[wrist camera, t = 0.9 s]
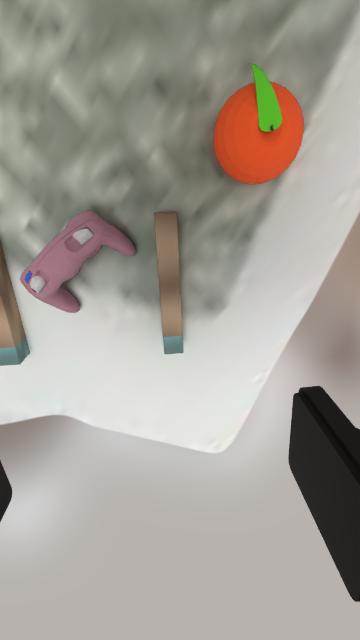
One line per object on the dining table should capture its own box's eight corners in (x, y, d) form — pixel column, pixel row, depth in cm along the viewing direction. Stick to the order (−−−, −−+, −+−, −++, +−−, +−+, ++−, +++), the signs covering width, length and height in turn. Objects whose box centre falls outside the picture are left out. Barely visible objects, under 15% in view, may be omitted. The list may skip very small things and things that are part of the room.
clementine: (194, 98, 26) (206, 65, 19) (274, 70, 25) (313, 26, 19) (218, 195, 29) (235, 195, 22) (289, 171, 28) (328, 164, 22)
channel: (-28, 222, 28) (-44, 224, 26) (175, 211, 29) (176, 213, 27) (11, 354, 34) (0, 365, 31) (181, 342, 35) (183, 352, 32)
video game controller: (115, 218, 31) (74, 192, 24) (143, 251, 30) (109, 235, 23) (52, 284, 33) (-2, 278, 26) (77, 316, 32) (29, 319, 25)
